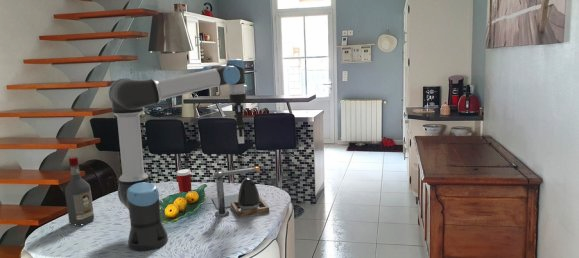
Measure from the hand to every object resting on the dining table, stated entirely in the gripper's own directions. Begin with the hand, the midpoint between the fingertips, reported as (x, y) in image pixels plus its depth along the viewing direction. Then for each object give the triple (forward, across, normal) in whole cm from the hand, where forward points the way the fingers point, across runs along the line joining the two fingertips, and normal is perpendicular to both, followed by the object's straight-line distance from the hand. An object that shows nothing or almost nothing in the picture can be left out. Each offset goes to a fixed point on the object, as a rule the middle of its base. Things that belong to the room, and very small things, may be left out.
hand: (240, 141), depth 215 cm
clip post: (+32, -9, +11) cm, 35 cm away
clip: (+13, -8, +3) cm, 16 cm away
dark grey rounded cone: (+32, -7, -2) cm, 33 cm away
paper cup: (+32, +20, +30) cm, 48 cm away
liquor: (+32, -1, +74) cm, 81 cm away
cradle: (+32, -7, -2) cm, 32 cm away
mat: (+32, +7, +7) cm, 33 cm away
